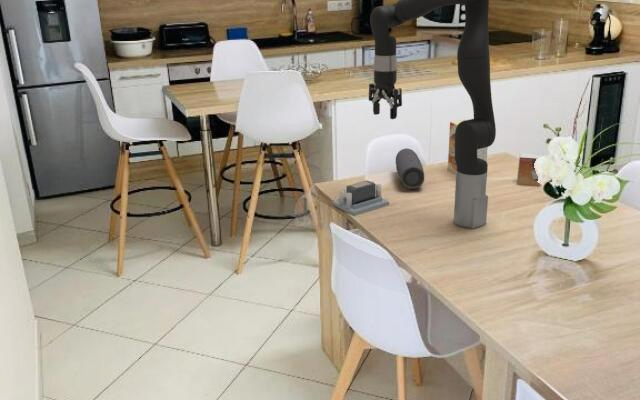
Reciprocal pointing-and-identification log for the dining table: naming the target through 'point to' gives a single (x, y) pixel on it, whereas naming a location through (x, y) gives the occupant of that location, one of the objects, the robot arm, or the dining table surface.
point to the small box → (527, 169)
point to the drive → (362, 191)
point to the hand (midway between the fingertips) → (384, 116)
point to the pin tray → (356, 209)
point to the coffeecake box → (451, 156)
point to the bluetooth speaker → (409, 168)
